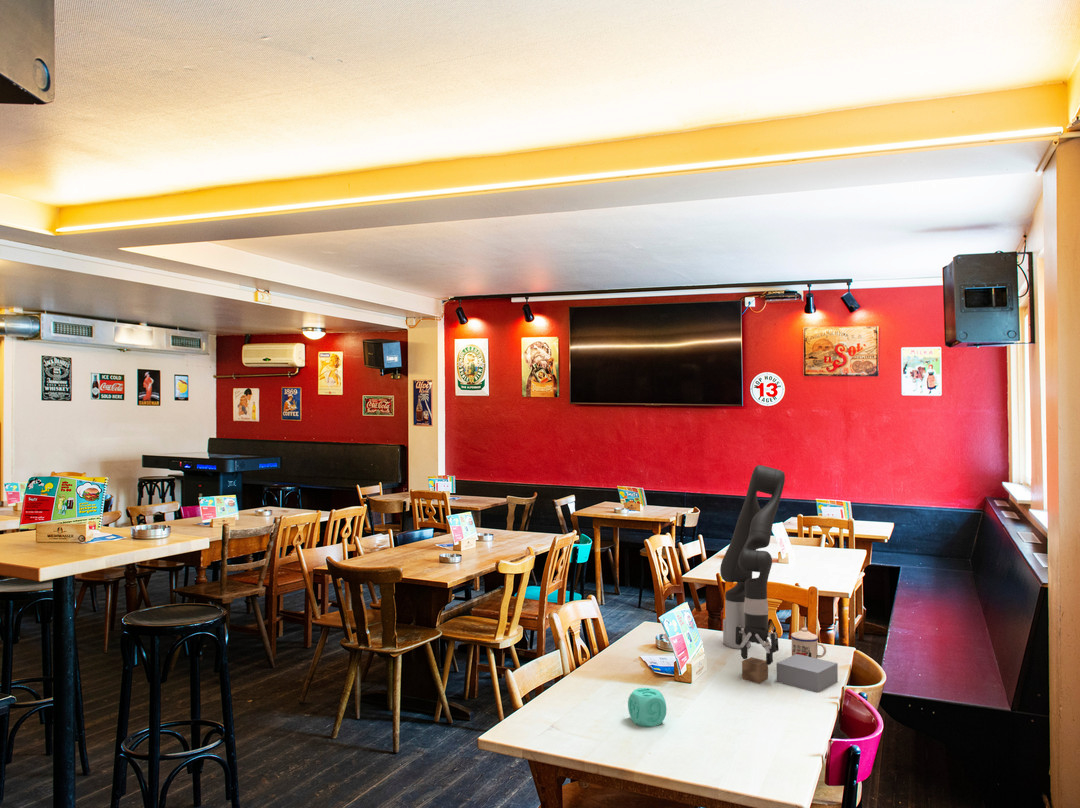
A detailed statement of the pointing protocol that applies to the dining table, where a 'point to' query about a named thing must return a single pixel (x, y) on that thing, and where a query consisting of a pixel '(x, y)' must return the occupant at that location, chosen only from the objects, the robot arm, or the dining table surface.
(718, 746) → the dining table surface
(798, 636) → the teacup with lid
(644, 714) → the decorative dice
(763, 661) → the walnut cube
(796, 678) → the slate plinth
